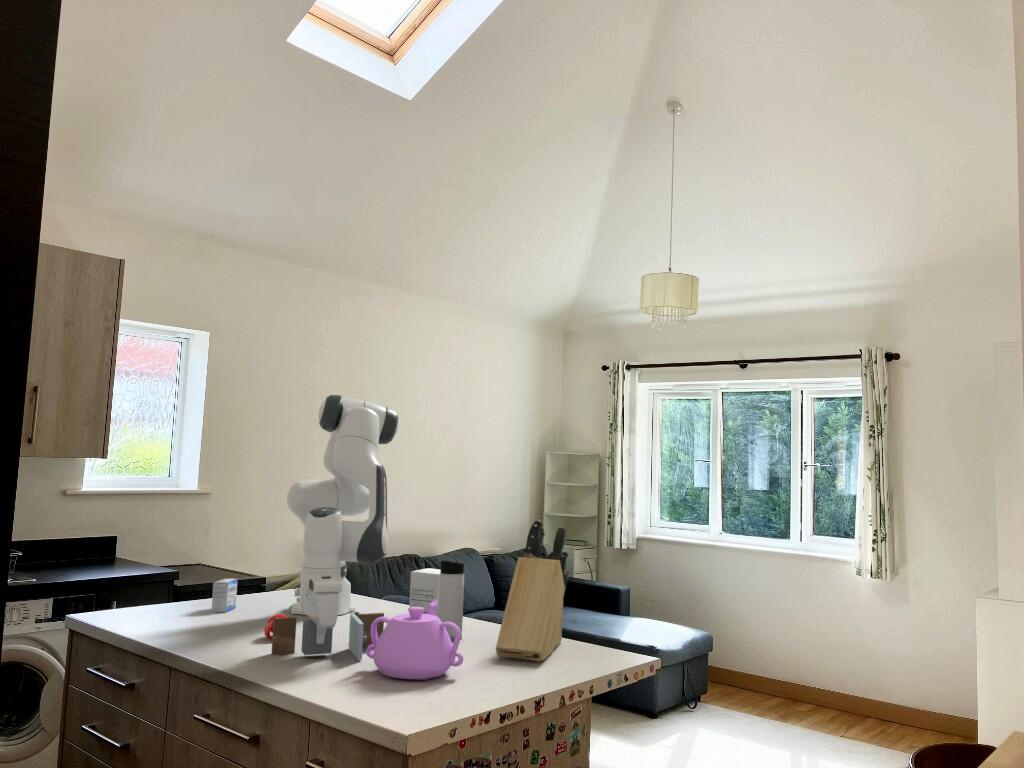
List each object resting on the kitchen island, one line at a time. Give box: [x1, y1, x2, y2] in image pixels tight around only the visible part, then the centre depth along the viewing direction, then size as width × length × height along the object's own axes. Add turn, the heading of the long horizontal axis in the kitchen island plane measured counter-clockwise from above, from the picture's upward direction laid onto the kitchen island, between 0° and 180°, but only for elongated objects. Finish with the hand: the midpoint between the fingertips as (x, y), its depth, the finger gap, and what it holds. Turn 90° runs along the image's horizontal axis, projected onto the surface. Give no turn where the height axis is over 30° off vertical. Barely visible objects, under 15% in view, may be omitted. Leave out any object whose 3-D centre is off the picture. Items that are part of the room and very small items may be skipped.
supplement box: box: [408, 567, 441, 617], centre depth 224 cm, size 9×9×15 cm
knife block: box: [495, 519, 570, 663], centre depth 201 cm, size 11×35×31 cm, turn 166°
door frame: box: [271, 611, 385, 656], centre depth 189 cm, size 1×26×8 cm, turn 115°
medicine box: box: [211, 578, 238, 614], centre depth 235 cm, size 8×4×9 cm, turn 179°
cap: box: [263, 613, 288, 640], centre depth 201 cm, size 8×6×6 cm
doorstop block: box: [301, 619, 334, 656], centre depth 183 cm, size 4×6×7 cm, turn 115°
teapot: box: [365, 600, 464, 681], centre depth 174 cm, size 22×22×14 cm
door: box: [348, 612, 367, 661], centre depth 186 cm, size 13×2×8 cm, turn 21°
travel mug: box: [438, 559, 465, 642], centre depth 207 cm, size 6×7×20 cm
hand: (317, 640), depth 183 cm, fingers closed on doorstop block, 4 cm apart
